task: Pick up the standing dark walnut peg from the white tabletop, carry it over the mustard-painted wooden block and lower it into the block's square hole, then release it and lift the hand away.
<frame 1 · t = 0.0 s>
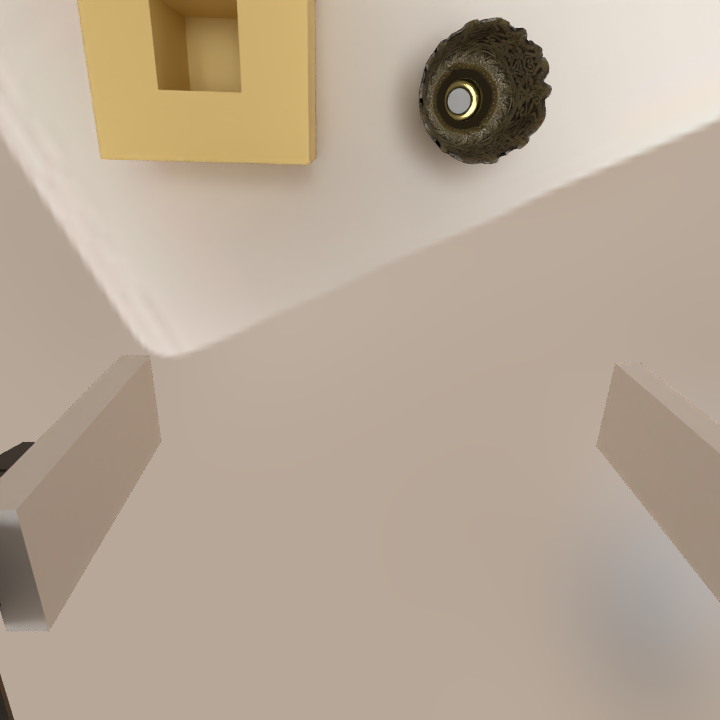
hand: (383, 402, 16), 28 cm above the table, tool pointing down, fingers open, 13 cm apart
cup: (458, 101, 38), on the table
hole block: (226, 60, 37), on the table
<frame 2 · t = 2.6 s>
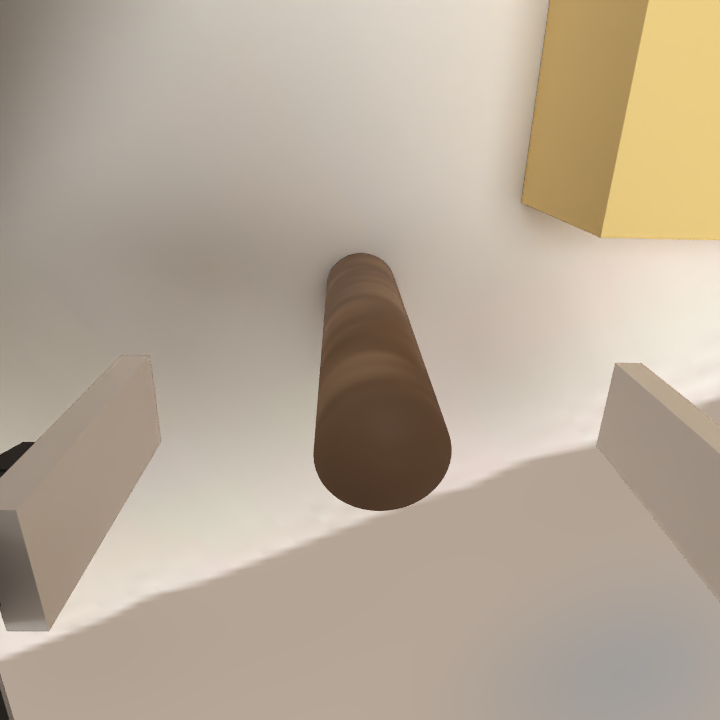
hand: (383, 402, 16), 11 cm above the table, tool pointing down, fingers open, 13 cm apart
walnut peg: (361, 287, 25), on the table
hole block: (689, 52, 22), on the table
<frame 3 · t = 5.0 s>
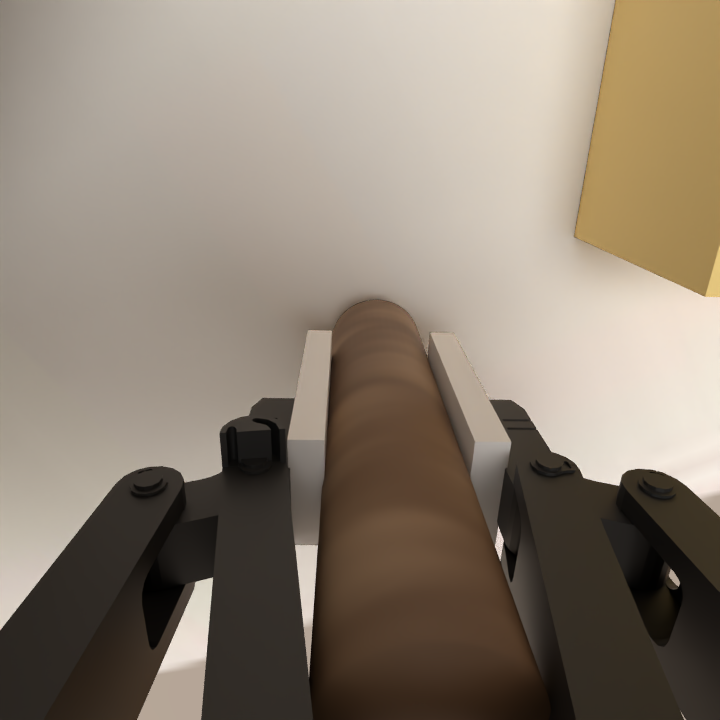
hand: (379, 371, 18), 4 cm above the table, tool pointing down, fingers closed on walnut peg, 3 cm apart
walnut peg: (375, 341, 20), point 1 cm above the table, touching gripper
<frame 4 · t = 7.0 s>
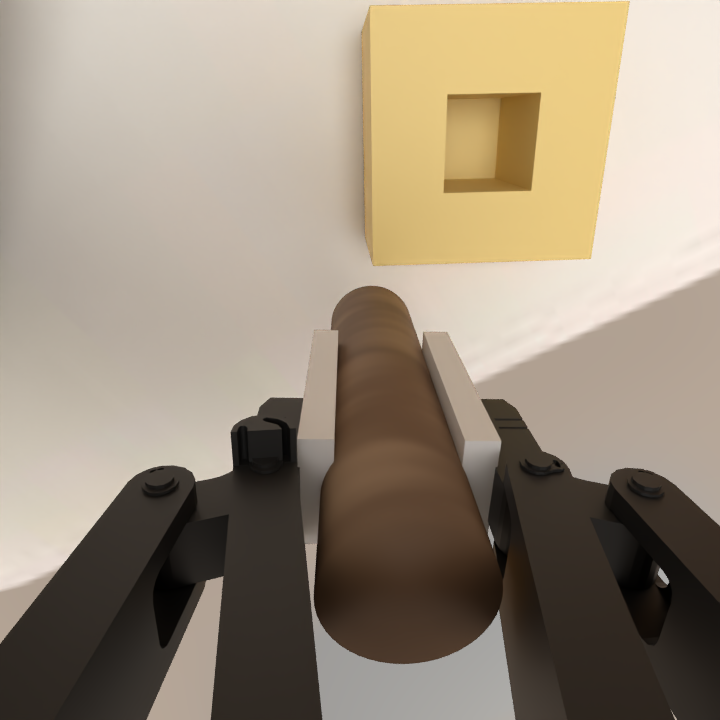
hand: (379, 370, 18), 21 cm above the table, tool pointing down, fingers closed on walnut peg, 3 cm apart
walnut peg: (370, 324, 22), point 16 cm above the table, touching gripper
hole block: (457, 139, 35), on the table
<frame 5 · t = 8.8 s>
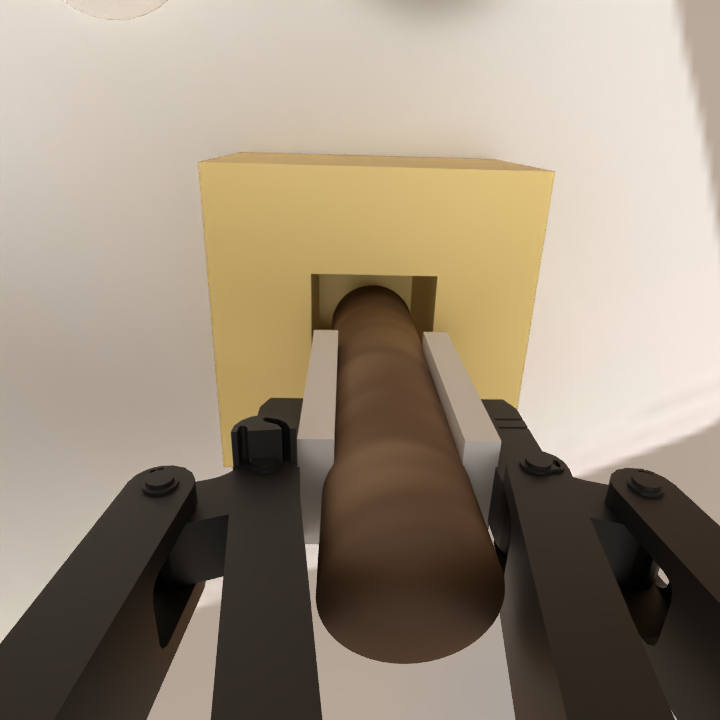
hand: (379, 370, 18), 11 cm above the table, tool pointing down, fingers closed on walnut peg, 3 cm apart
walnut peg: (371, 323, 22), point 6 cm above the table, touching gripper
hole block: (364, 280, 28), on the table
when the fingers open (9 cm above the table, at t = 9.8 s): walnut peg drops 3 cm, resting on hole block.
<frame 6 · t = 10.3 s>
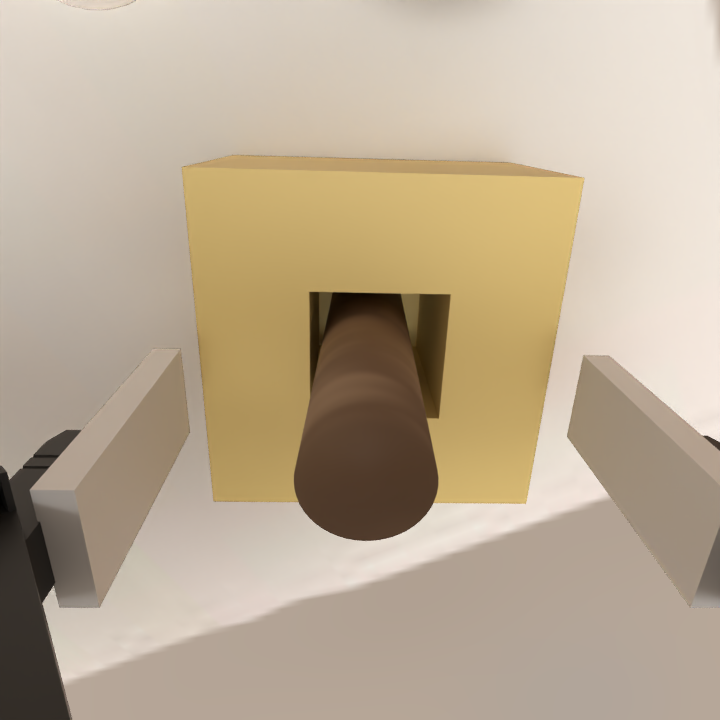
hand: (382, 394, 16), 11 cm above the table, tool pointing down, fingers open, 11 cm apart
walnut peg: (366, 301, 25), point 1 cm above the table, touching hole block
hole block: (368, 293, 26), on the table
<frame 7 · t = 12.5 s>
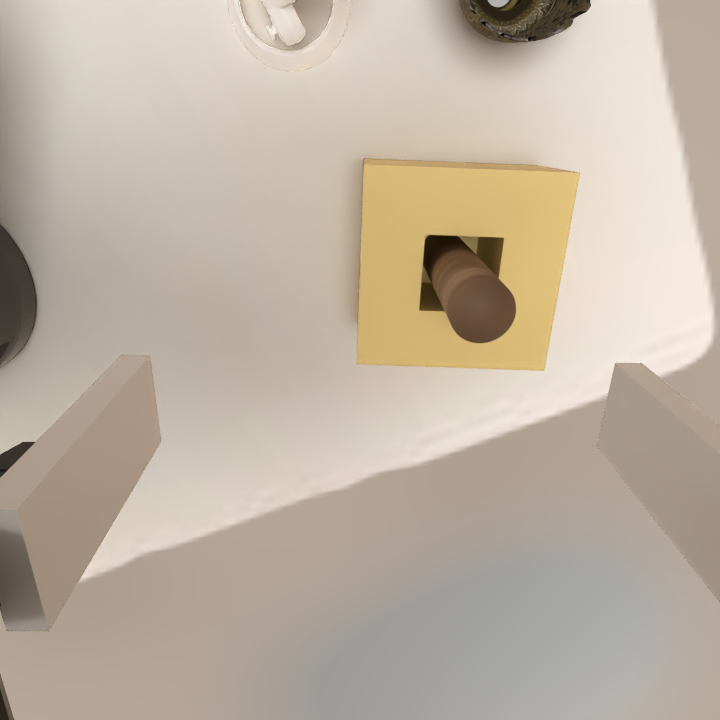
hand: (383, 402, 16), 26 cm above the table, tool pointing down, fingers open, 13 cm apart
walnut peg: (442, 252, 39), point 1 cm above the table, touching hole block
hole block: (442, 249, 40), on the table
hook: (290, 3, 34), on the table
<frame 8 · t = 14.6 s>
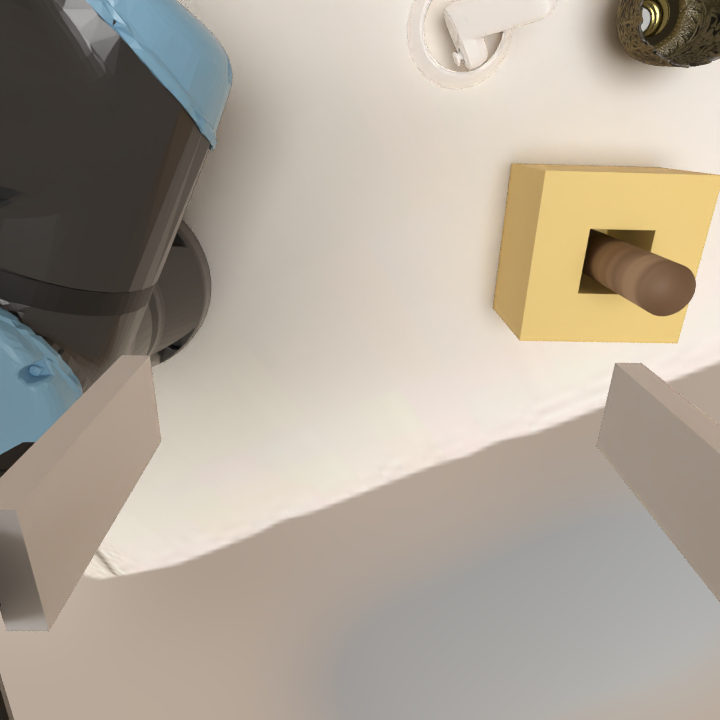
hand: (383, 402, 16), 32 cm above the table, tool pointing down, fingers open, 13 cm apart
cup: (637, 21, 40), on the table
walnut peg: (575, 244, 45), point 1 cm above the table, touching hole block
hole block: (572, 241, 46), on the table
hook: (459, 30, 40), on the table
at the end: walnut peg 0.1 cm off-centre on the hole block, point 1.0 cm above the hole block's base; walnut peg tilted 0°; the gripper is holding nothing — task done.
